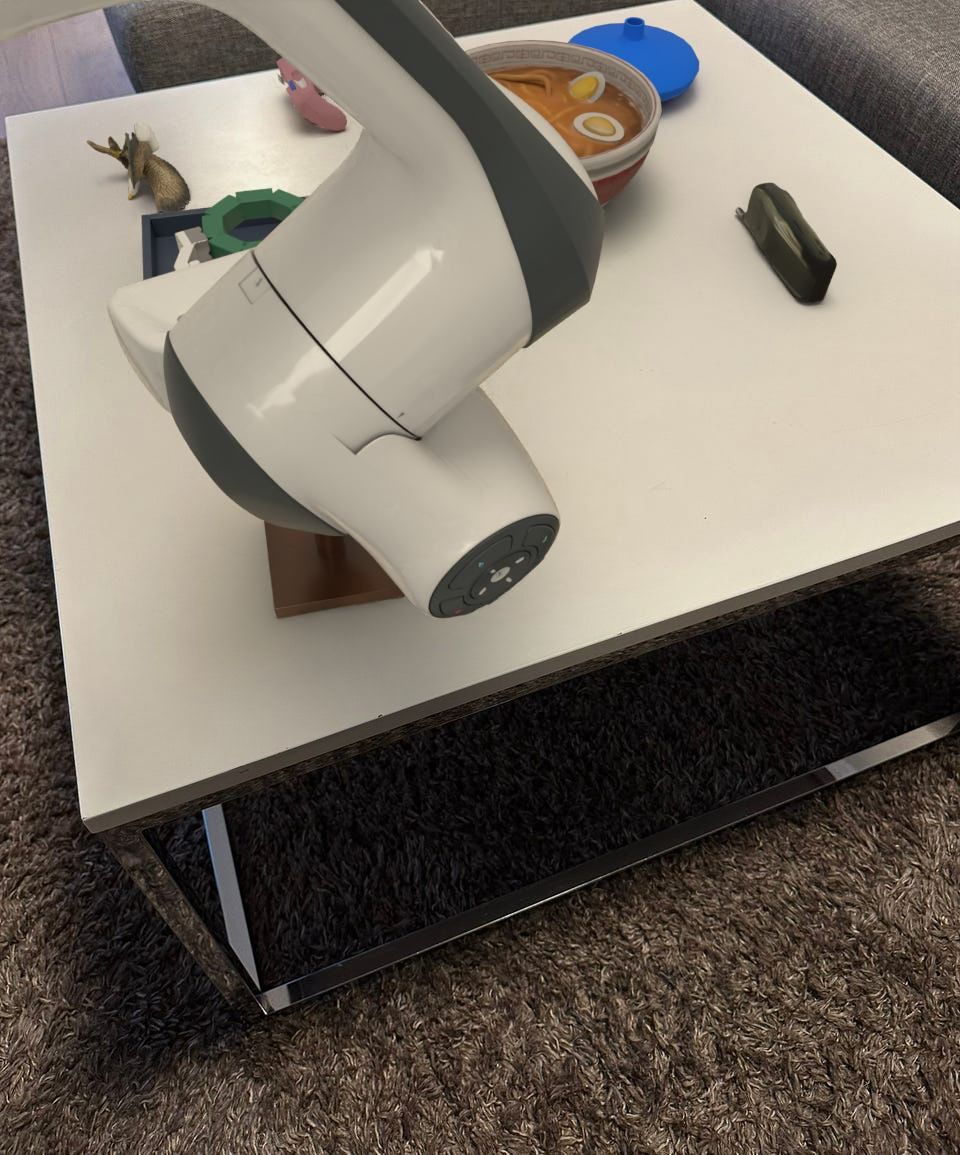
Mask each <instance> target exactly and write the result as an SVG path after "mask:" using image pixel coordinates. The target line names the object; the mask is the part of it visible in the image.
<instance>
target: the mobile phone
mask: <svg viewBox="0 0 960 1155" xmlns="http://www.w3.org/2000/svg"><path fill="white" fill-rule="evenodd" d="M735 214H736V215H737V216H738V218H739V219H740V220H741V221H742V222H743V224H744V225H745V226H746V227H747V229H748V230H749V231H750V233H751V235H752V236H753V238H754V239H755V240H756V243H757V245H758V246H759V248H760V249H761V251H762V253H764V255H765V256H766V257H767V259H768V261H769V262H770V264H771V265H772V268H773V269H774V270H775V272H776V273H777V275H778V276H779V277H780V279H781V281H782V282H783V284H784V285H785V286H786V289H788V291H789V292H790V294H791V295H792V296H793V297H794V298H796V299H797V300H799V301H800V302H803V303H807V304H808V303H810V304H811V303H813V304H815V303H819V302H823V301H824V300H825V299H826V296H827V293H828V290H829V287H830V285H831V282H832V279H833V276H834V274H835V272H836V269H837V266H838V262H837V259H836V258H835V256H833V254H832V253H831V252H830V251H829V249H828V248H827V246H826V245H824V243H823V242H822V241H821V239H820V237H819V236H818V234H817V233H816V232H815V230H814V229H813V228H812V226H811V225H810V224H809V222H807V220H806V219H805V217H804V216H803V214H802V212H801V210H800V208H799V207H798V205H797V202H796V201H795V199H794V198H793V196H792V195H791V194H790V193H789V192H788V191H787V190H786V189H783V188H781V187H780V186H778V185H777V184H776V183H774V182H763V183H759V184H757V185H755V186H754V187H753V189H752V191H751V193H750V197H749V201H748V204H747V209H746V212H745V210H743V208H742V207H740V206H739V207H737V208H735Z"/></svg>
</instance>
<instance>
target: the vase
mask: <svg viewBox="0 0 960 1155" xmlns="http://www.w3.org/2000/svg"><path fill="white" fill-rule="evenodd" d="M567 43H573V44H577V45H582V46H586V47H590V48H594V49H597V50H600V51H603V52H606V53H608V54H611V55H614V56H616V57H618V58H620V59H622V60H624V61H626V62H628V63H630V64H631V65H632V66H634V67H635V68H637V69H638V70H639V71H641V72H642V73H643V74H644V75H645V76H646V77H647V78H648V79H649V80H650V81H651V83H652V84H653V85H654V86H655V88H656V90H657V92H658V94H659V97H660V100H661V102H664V101H668V100H671V99H674V98H677V97H678V96H680V95H681V94H683V93H685V92H686V91H687V90H688V89H690V87H691V86H692V84H693V82H694V81H695V79H696V77H697V75H698V74H699V71H700V59H699V58H698V56H697V54H696V52H695V50H694V48H693V47H692V45H691V44H689V42H687V41H686V40H685V38H683V37H681V36H680V35H678V34H675V33H674V32H672V31H670V30H667V29H663V28H661V27H657V26H653V25H648V24H646V21H645V20H644V19H643V18H641V17H637V16H629V17H627V18H625V19H624V22H614V23H613V22H611V23H604V24H599V25H595V26H594V25H593V26H592V27H589V28H586V29H583V30H580V32H578V33H576V34H575V35H573V36H572V37H571V38H570V39H569V40H568V42H567Z"/></svg>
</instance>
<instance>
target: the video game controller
mask: <svg viewBox="0 0 960 1155" xmlns="http://www.w3.org/2000/svg"><path fill="white" fill-rule="evenodd" d="M276 65H277V67H278V69H279V73H280V74H279V73H277V79H278V81H279V83H280V84H281V85H283V86H285V85H286V84H287V87H286V89H285V91H286V92H287V94H288V96H289V98H290V100H291V103H292V105H293V106H294V108H295V110H297V111H298V112H299V114H300V115H301V117H302V118H303V119H306V120H307V121H308V122H309V124H312V123H313V124H315V125H317V126H319V127H321V128H323V129H326V130H330V131H333V132H338V131H342V130H345V128H346V126H347V124H348V119H347V116H346V113H344V112H343V111H342V110H341V109H340V108H339V107H338V106H336V105H334V104H332V103H331V102H329V101H328V100H326V99H325V98H324V97H322V96H321V94H325V93H324V92H322V91H321V90H320V89H319V88H318V87H317V86H315V85H314V84H313V83H312V82H311V81H310V80H308V79H307V78H306V77H305V76H304V75H303V74H301V73H300V72H299V71H298V70H297V69H296V68H295V67H293V66H292V65H291V64H290V63H289V62H288V61H286V60H285V59H284V58H283V57H282V56H281V58H279V59H278V60H277V61H276Z"/></svg>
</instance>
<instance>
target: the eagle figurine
mask: <svg viewBox="0 0 960 1155" xmlns="http://www.w3.org/2000/svg"><path fill="white" fill-rule="evenodd" d="M133 130H134V131H131V138H130V134H129V133H128V132H125V133H124V136H125V137H124V139H125V140H124V142H123V146H122V148H120V146H119V143H118V142H117V141H115V139H114V138H113V136H111V135H110V136H108V138H107V143H108V144H107V145H108V147H105V146H102V145H99V144H97V143H96V142H94V141H92V140H89V139H88V140H87V141H86V144H88V145H89V146H90V147H91V148H92V149H93V150H95V151H96V152H99V153H101V154H105V155H108V156H111V157H112V158H114V159H116V160H117V161H119V163H121V165H122V166H123V167H124V169H126V170H127V177H128V178H127V179H128V181H127V182H128V183H127V189H128V196H127V199H128V200H131V199H132V198H133V197H134V196H135V195H136V194H137V193H138V191H139V187H140V183H141V181H142V180H143V179H144V180H146V181H147V182H149V185H150V187H151V189H152V192H153V194H154V202H155V207H156V210H157V212H158V213H164V212H173V211H182V209H184V208H185V207H186V204H188V203H189V200H190V198H191V192H190V188H189V185H188V183H187V182H186V180H185V178H184V177H183V176H182V175H181V173H180V172H179V171H178V169H177V168H176V167H175V166H174V165H173V164H171V163H170V162H169V161H167V160H166V159H164V158H162V157H160V156H157V155H156V154H155V153H156V152H157V151H158V150H159V149H160V142H159V140H158V138H157V137H156V134H155V132H154V131H153V130H152V128H151V126H149V125H147V124H146V123H144V122H137V123H134V125H133Z"/></svg>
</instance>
